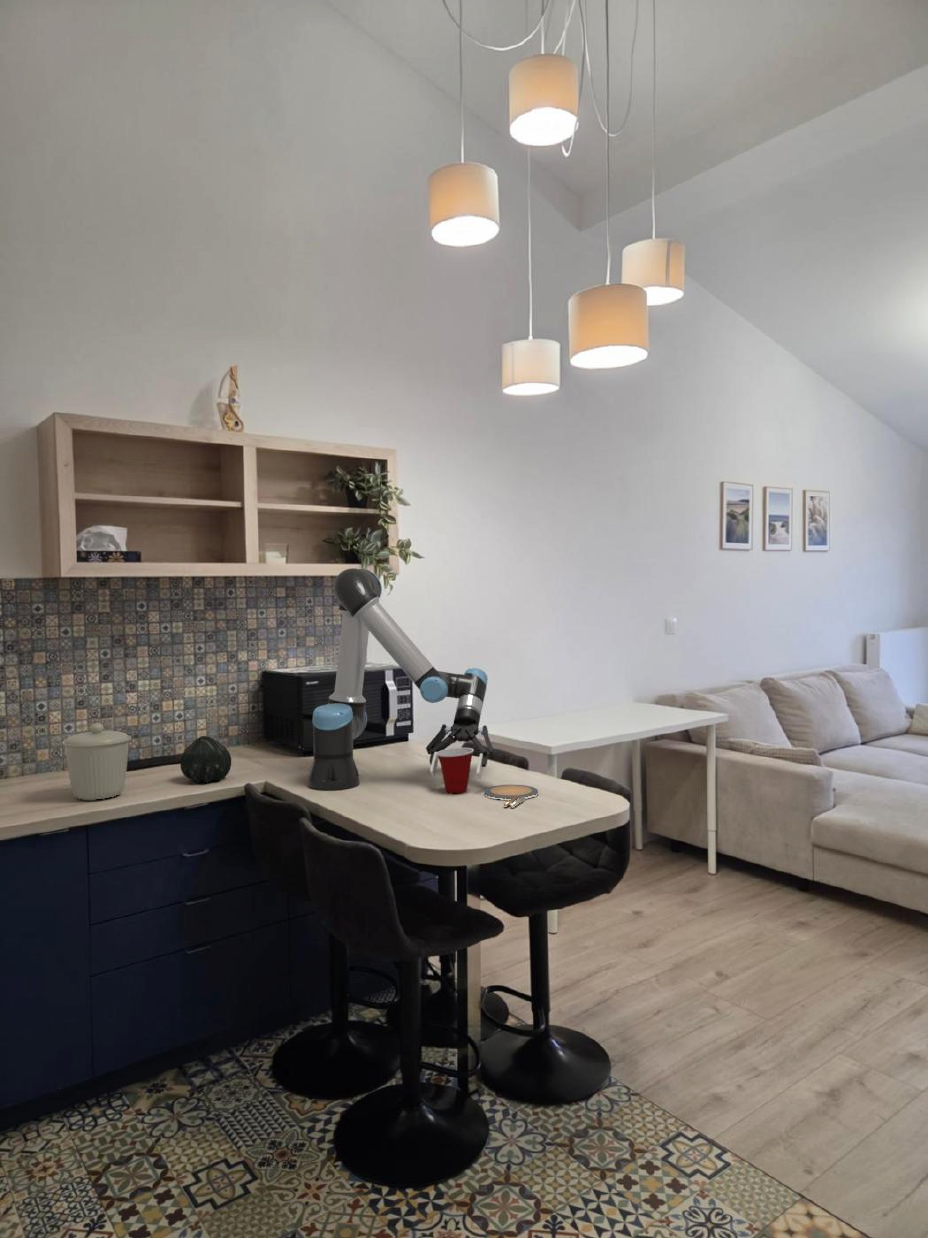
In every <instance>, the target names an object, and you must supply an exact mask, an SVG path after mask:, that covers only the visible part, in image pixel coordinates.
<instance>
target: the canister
mask: <svg viewBox="0 0 928 1238" xmlns="http://www.w3.org/2000/svg"><path fill="white" fill-rule="evenodd" d="M89 729H90V731H88V732H87V731H86V732H81V733H77V734H73V735H70V736H68V737H67V738H66V739H65V740H63V741H62V742H61V744H62V746H64V748H65V749H64V750H65V756H66V765H67V769H68V776H69V782H70V787H71V791H72V794H73V796H74V797H75V798H76V799H78V800H80V799H82V800H81V801H96V800H95V799H103V800H105V799H104V798H109V797H112V798H114V797H113V796H115V797H117V796H116V795H118V796H120V795H121V794H122V792H123V791H124V789H125V784H126V779H127V770H128V769H127V768H128V756H129V746H130V741H131V740H132V736H131V735H128V734H127V733H126V732H123V731H117V730H104V729H105V728H104V725H103V724H102V723H101V722H100V723H99V722H96V723H92V724H91V725H90V727H89ZM109 799H110V798H109Z"/></svg>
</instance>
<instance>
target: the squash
mask: <svg viewBox="0 0 928 1238" xmlns="http://www.w3.org/2000/svg"><path fill="white" fill-rule="evenodd" d="M231 766H232V757H231V753H230V752H229V750H228V748H227V747H225V746H224V744H222V743H221V742H219V741H218V740H216V739H214V738H212V737H210V736H207V735H201V736H199V737H198V738H196V739H195V740H193V741H192V742H191V743H190V744H189V745H188V746H187V747H186V748H185V750H184V751H183V753H182V755H181V757H180V771H181V773H182V774H183V776H184V777H186V778H187V779H189V780H191V781H193V782H195V783H196V782H201V781H203V782H202V783H205V782H209V783H210V782H211V781H212V780H219V781H221V780H222V779H224V778H225V777H226V776H227V775H228V774H229V772H230V771H231Z"/></svg>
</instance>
